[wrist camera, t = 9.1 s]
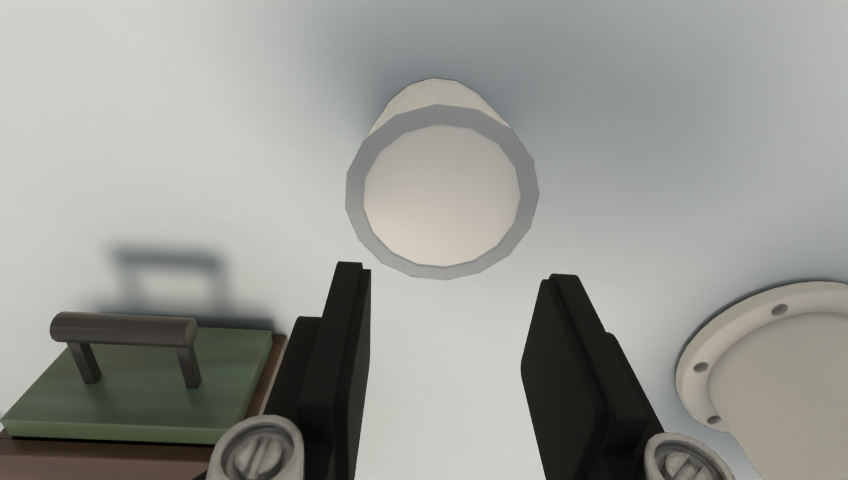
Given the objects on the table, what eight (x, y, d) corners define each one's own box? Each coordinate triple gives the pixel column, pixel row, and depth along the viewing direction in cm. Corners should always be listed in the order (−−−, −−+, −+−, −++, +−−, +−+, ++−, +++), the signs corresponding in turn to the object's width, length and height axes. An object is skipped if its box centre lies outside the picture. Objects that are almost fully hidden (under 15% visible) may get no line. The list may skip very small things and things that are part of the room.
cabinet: (95, 325, 28) (-21, 453, 21) (287, 335, 29) (240, 464, 21) (148, 461, 35) (75, 593, 28) (301, 467, 36) (269, 598, 28)
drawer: (67, 260, 25) (-43, 352, 19) (263, 271, 25) (215, 364, 19) (142, 453, 33) (83, 557, 27) (288, 459, 34) (260, 563, 28)
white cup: (350, 180, 23) (325, 255, 17) (387, 41, 20) (372, 74, 14) (476, 217, 24) (494, 300, 18) (531, 92, 21) (575, 142, 15)
